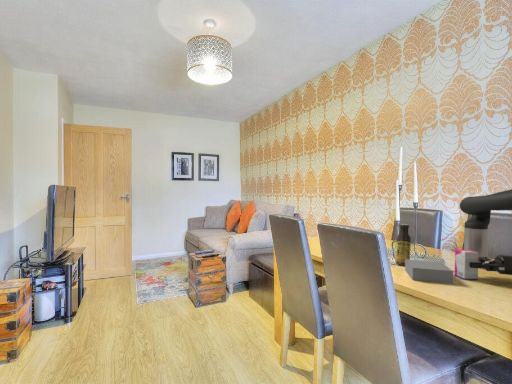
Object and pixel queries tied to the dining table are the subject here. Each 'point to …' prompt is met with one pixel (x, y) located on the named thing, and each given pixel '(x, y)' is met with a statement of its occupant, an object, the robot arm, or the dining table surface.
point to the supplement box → (465, 264)
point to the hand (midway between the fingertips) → (465, 262)
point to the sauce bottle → (403, 245)
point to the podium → (428, 271)
